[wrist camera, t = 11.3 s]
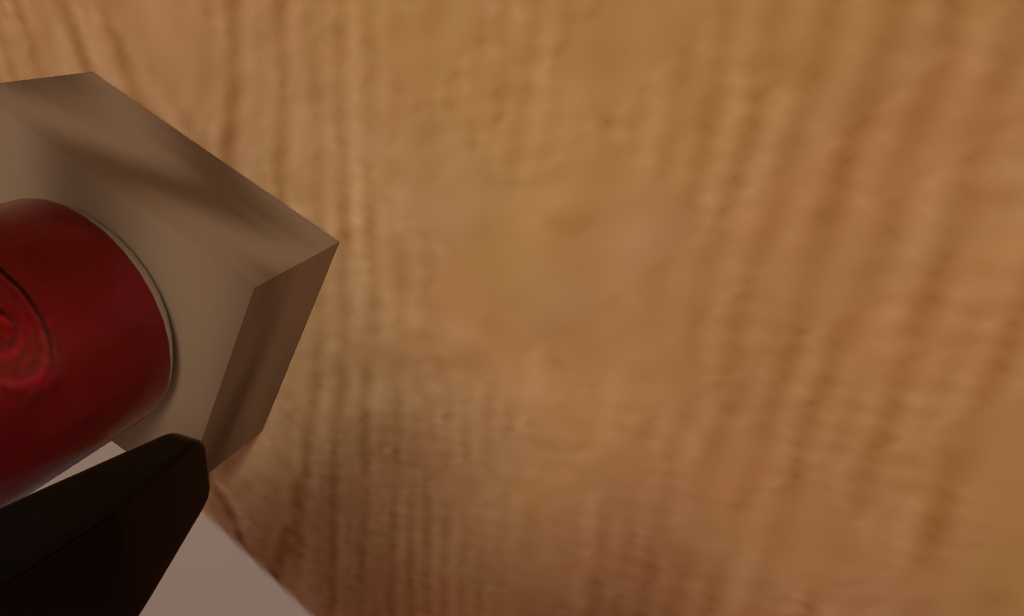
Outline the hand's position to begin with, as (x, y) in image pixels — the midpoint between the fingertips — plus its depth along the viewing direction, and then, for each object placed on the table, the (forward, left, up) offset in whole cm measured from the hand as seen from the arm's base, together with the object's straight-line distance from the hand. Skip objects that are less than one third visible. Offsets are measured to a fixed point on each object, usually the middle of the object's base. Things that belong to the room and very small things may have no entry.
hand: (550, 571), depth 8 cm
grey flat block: (+14, +11, -12) cm, 21 cm away
